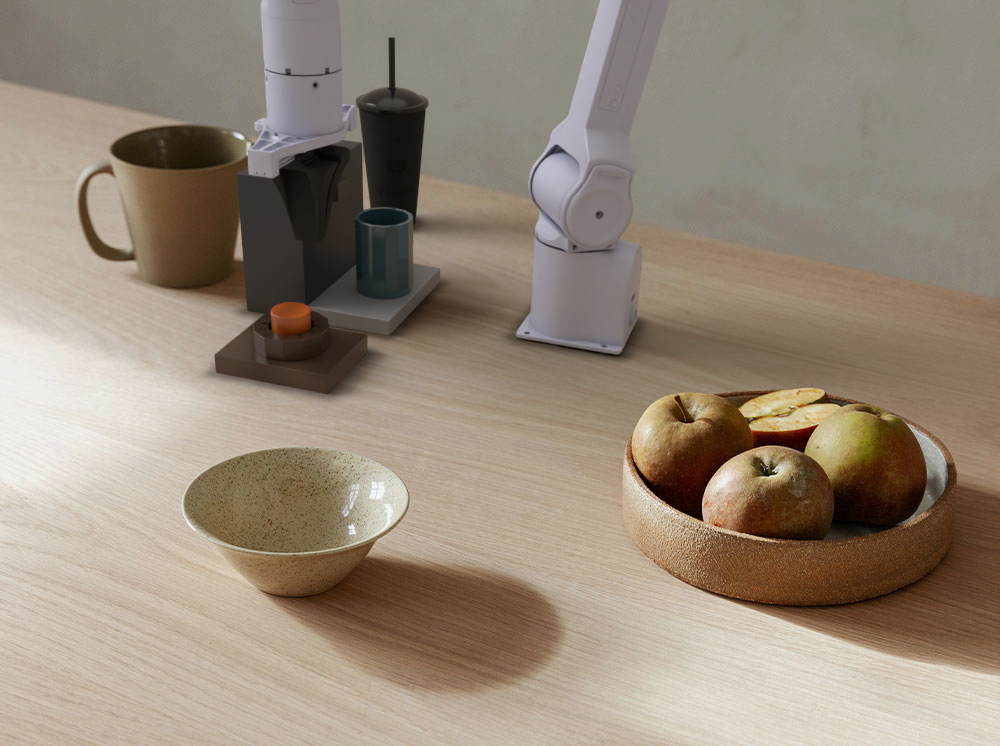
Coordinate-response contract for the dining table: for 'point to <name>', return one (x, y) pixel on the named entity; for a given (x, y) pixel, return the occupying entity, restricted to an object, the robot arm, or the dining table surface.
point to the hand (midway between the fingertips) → (310, 238)
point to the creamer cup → (384, 252)
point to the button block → (293, 355)
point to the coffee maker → (316, 257)
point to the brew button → (291, 318)
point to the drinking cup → (393, 142)
